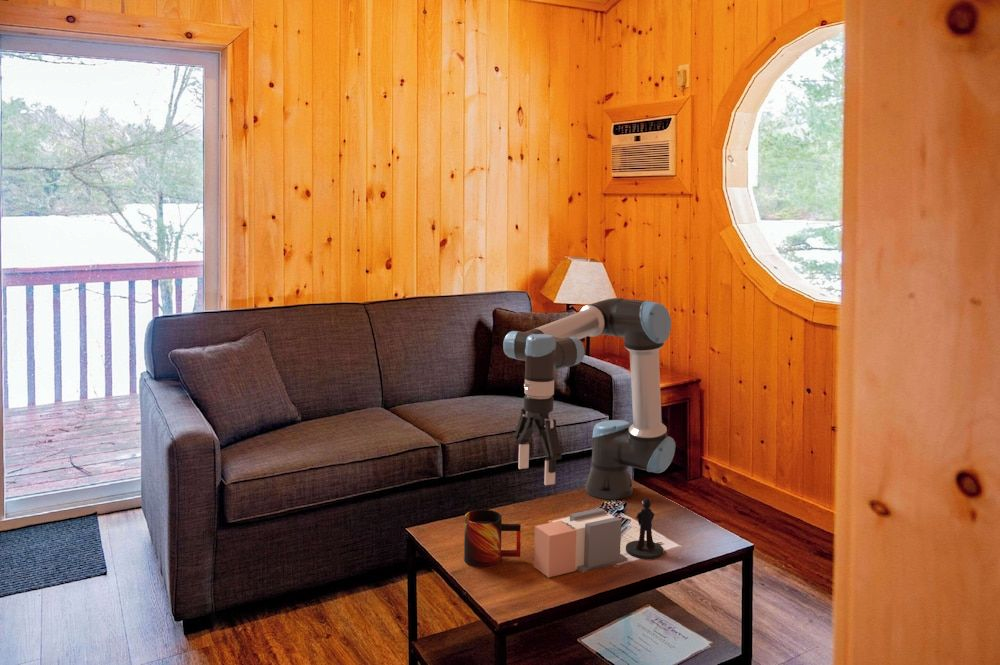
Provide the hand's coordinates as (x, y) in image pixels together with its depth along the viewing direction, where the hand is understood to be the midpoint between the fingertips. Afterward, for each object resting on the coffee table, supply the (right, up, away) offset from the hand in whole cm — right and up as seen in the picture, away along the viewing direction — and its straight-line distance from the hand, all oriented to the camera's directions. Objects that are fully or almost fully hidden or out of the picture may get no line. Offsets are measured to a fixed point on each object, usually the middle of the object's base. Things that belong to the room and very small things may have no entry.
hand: (536, 476), depth 215 cm
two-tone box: (+15, -23, +4) cm, 28 cm away
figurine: (+30, -22, +11) cm, 39 cm away
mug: (-12, -23, +5) cm, 26 cm away
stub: (+5, -24, -1) cm, 24 cm away
